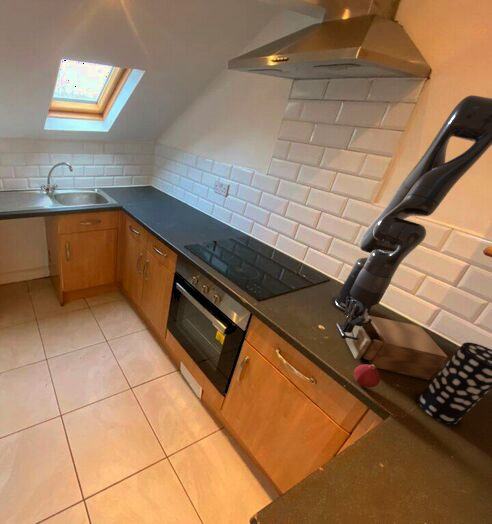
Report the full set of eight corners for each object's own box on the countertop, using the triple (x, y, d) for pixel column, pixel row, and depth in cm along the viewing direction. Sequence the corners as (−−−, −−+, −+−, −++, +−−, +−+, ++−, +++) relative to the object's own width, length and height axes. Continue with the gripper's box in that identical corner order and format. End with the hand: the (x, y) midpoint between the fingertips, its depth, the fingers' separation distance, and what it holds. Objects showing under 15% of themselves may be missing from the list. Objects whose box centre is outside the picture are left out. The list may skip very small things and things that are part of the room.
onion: (350, 373, 88) (362, 353, 84) (373, 384, 85) (387, 364, 81) (347, 385, 84) (360, 364, 80) (371, 397, 81) (386, 377, 77)
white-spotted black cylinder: (428, 392, 84) (473, 339, 75) (464, 419, 78) (519, 364, 68) (410, 400, 81) (455, 345, 72) (446, 428, 75) (500, 373, 65)
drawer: (338, 355, 93) (349, 336, 89) (327, 329, 103) (336, 311, 100) (407, 371, 90) (422, 352, 86) (388, 343, 100) (400, 325, 96)
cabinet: (371, 366, 91) (386, 343, 87) (354, 336, 103) (367, 315, 98) (428, 380, 88) (447, 356, 84) (405, 348, 100) (421, 326, 96)
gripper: (396, 300, 81) (367, 348, 89) (374, 276, 92) (350, 321, 100) (366, 294, 82) (340, 342, 90) (348, 271, 93) (327, 316, 101)
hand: (346, 330), depth 95 cm, fingers closed
